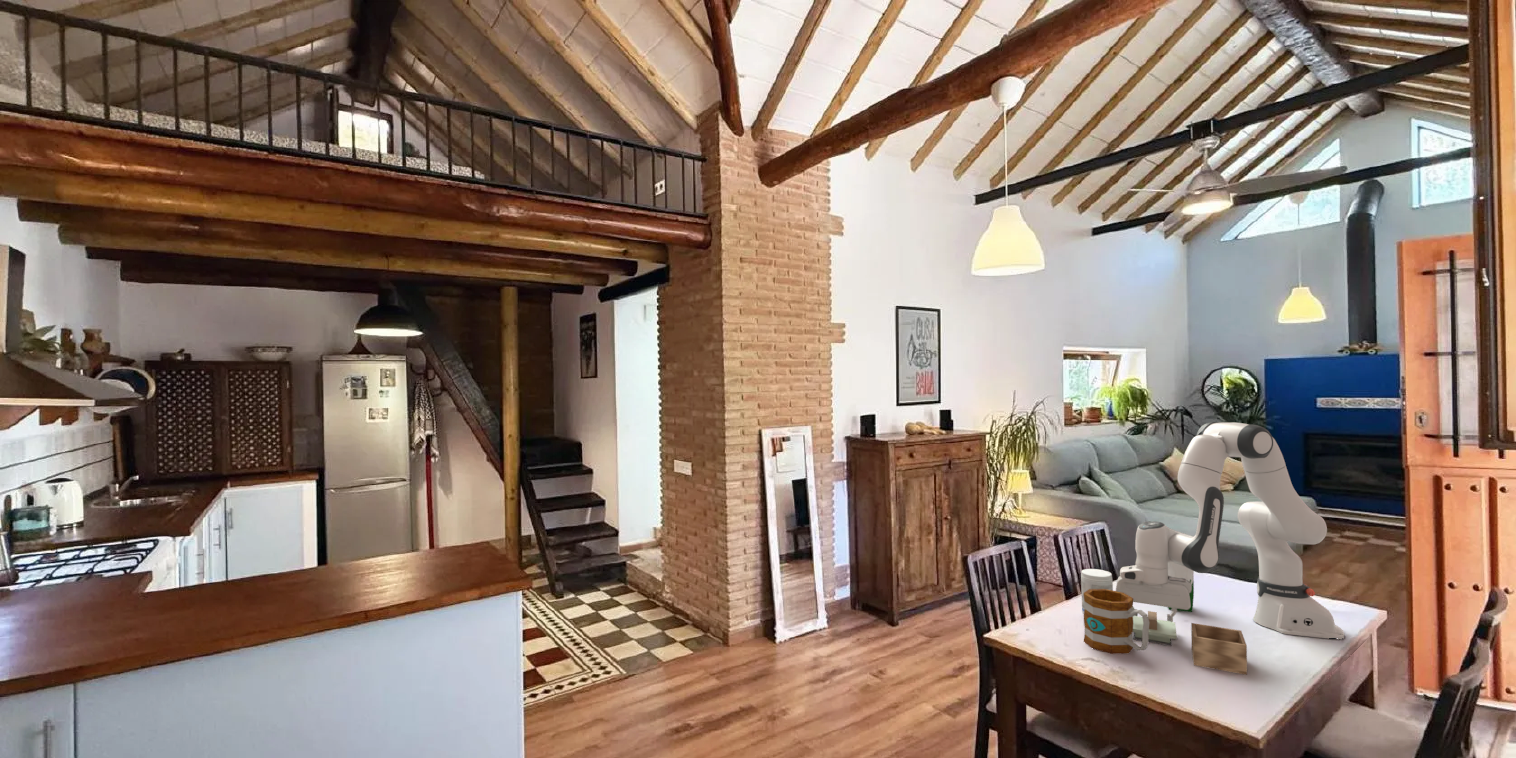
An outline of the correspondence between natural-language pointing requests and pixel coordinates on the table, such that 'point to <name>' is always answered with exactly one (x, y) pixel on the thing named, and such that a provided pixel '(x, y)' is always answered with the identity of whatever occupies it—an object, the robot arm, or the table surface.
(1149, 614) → the lid
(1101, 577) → the supplement tub
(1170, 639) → the mat
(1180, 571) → the milk carton
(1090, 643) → the mug
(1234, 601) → the table surface
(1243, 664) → the crate
